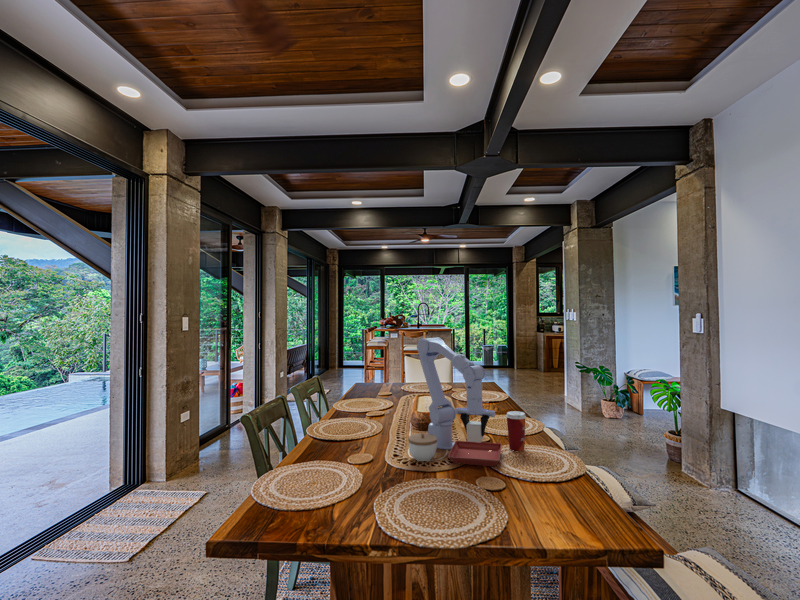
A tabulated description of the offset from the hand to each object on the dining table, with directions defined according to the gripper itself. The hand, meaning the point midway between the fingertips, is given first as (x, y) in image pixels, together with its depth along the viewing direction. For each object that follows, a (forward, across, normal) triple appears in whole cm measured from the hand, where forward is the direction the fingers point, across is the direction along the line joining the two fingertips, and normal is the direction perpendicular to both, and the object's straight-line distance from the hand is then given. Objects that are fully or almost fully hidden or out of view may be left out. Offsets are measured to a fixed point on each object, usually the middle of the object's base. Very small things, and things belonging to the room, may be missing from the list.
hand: (475, 434), depth 148 cm
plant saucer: (+9, 0, 0) cm, 9 cm away
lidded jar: (+9, -18, -8) cm, 21 cm away
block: (+2, 0, 0) cm, 2 cm away
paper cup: (+9, +13, +14) cm, 21 cm away
